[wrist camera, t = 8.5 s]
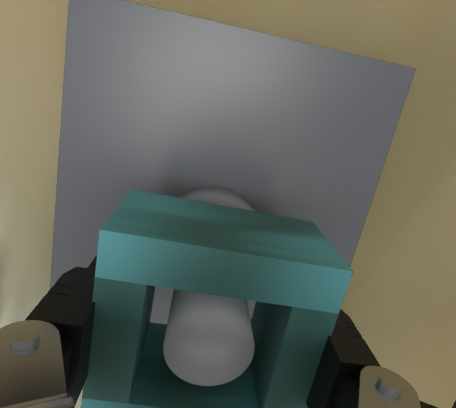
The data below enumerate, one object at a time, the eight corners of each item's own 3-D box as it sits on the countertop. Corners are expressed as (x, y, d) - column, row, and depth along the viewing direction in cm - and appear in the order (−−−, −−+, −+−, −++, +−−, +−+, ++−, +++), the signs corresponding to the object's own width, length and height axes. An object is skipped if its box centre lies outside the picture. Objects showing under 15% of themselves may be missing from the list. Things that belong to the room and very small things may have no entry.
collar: (312, 221, 12) (352, 271, 8) (270, 366, 14) (291, 454, 10) (132, 189, 11) (99, 230, 8) (112, 345, 13) (78, 433, 10)
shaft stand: (397, 70, 16) (613, 43, 7) (296, 384, 21) (356, 583, 13) (83, -2, 15) (-99, -141, 6) (56, 353, 20) (-63, 555, 11)
